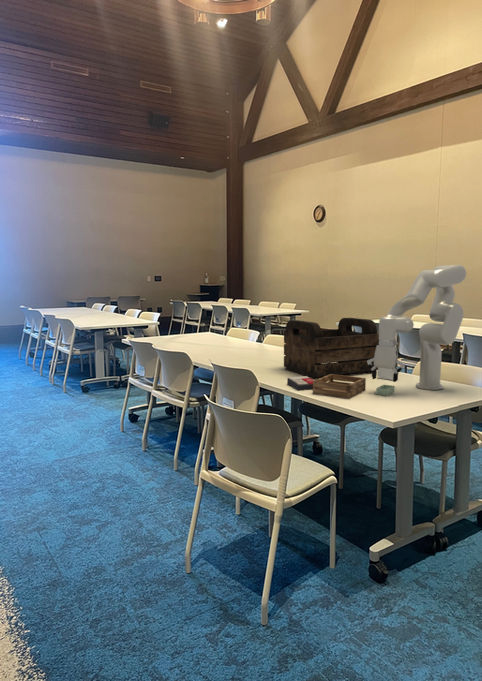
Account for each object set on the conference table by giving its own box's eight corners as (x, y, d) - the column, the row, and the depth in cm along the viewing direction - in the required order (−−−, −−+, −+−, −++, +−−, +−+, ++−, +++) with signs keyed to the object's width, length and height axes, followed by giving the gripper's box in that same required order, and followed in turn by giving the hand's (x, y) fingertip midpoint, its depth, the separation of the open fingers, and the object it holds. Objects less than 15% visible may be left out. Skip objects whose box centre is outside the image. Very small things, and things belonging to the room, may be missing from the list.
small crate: (383, 390, 229) (383, 384, 228) (394, 392, 226) (394, 385, 225) (376, 394, 220) (376, 388, 220) (387, 396, 217) (387, 389, 217)
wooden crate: (316, 380, 254) (317, 324, 250) (283, 369, 285) (283, 319, 281) (378, 373, 272) (379, 320, 268) (341, 363, 303) (342, 316, 299)
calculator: (298, 384, 229) (287, 376, 244) (298, 392, 230) (287, 384, 244) (319, 382, 232) (307, 375, 247) (319, 391, 233) (306, 383, 247)
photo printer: (376, 378, 258) (376, 355, 257) (380, 376, 261) (381, 354, 259) (393, 381, 250) (393, 357, 249) (397, 379, 253) (398, 356, 251)
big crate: (330, 385, 240) (330, 374, 239) (365, 390, 230) (365, 378, 229) (312, 393, 223) (312, 381, 223) (349, 398, 213) (349, 385, 212)
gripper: (408, 344, 218) (405, 381, 220) (371, 341, 228) (369, 376, 230) (403, 346, 212) (400, 383, 214) (365, 342, 222) (363, 378, 224)
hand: (384, 380), depth 222 cm, fingers open, 9 cm apart
